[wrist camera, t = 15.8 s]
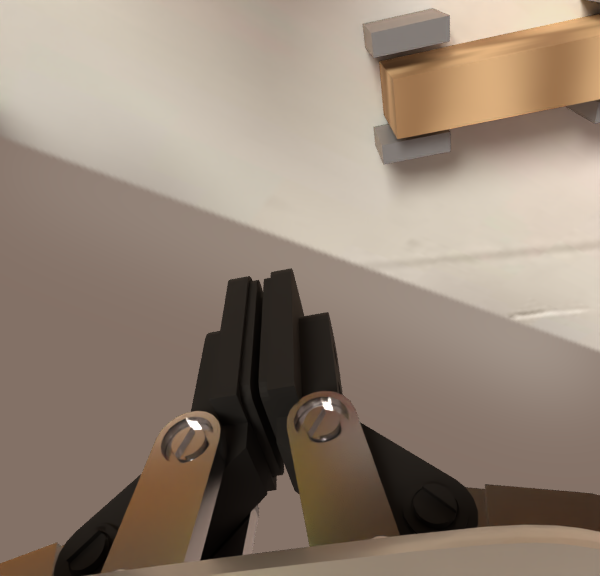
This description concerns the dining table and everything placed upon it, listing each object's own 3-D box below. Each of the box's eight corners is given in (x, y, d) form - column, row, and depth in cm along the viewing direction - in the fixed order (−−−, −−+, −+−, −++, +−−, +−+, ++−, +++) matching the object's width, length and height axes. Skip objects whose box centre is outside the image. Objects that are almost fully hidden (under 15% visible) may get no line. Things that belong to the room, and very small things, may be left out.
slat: (383, 113, 30) (397, 139, 26) (378, 60, 28) (393, 79, 24) (644, 60, 28) (702, 79, 24) (657, 0, 26) (723, 9, 22)
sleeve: (375, 144, 31) (383, 164, 28) (362, 24, 27) (371, 32, 24) (435, 132, 31) (450, 151, 28) (432, 8, 26) (449, 15, 24)
